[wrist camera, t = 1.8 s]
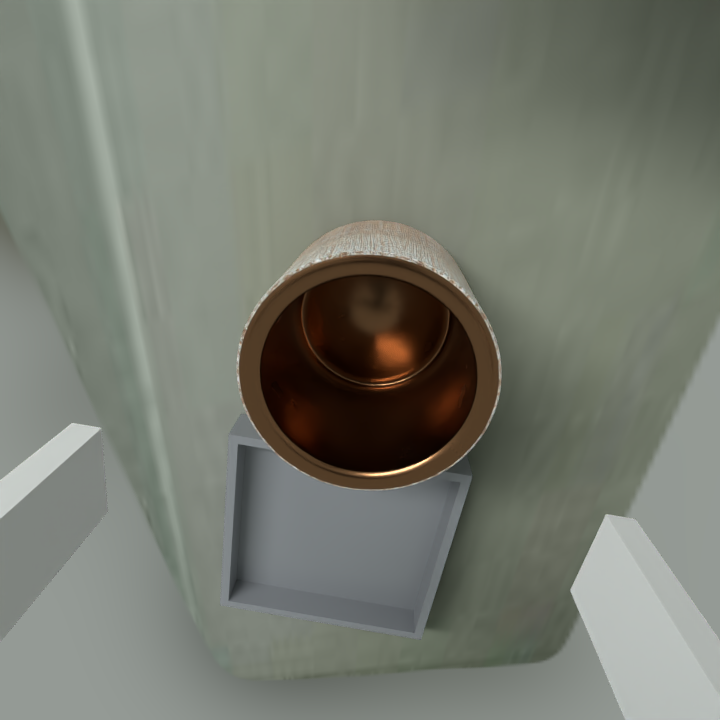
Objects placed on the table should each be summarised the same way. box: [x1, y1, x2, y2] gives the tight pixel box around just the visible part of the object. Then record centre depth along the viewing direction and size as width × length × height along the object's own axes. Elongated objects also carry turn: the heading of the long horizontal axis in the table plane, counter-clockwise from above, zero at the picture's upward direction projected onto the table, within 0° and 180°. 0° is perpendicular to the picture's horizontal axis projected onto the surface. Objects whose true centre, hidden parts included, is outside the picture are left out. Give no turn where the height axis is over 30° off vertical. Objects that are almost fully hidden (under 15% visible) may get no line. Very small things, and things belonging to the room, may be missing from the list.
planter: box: [237, 220, 502, 491], centre depth 23 cm, size 11×11×10 cm
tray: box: [220, 414, 473, 640], centre depth 32 cm, size 15×15×2 cm
